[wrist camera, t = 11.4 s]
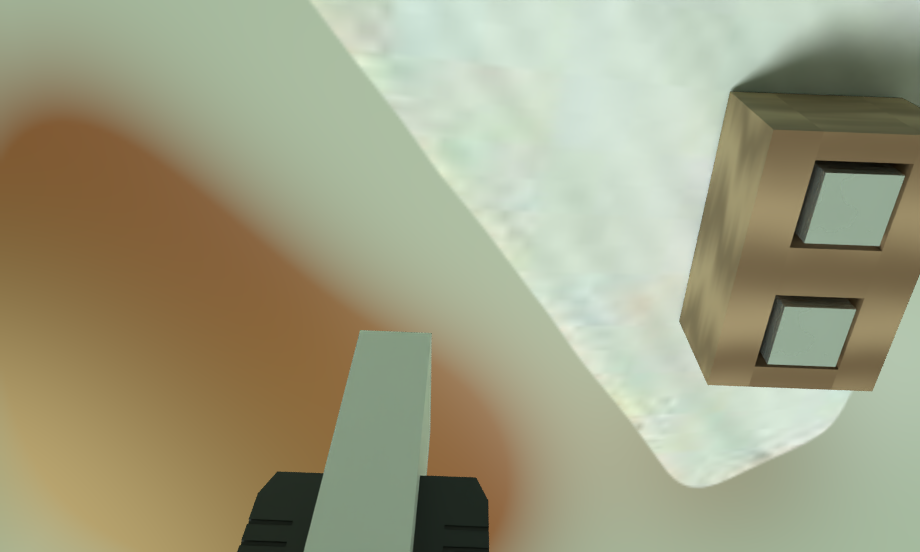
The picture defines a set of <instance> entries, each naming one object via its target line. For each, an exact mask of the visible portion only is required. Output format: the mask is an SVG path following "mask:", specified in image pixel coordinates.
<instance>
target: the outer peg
mask: <svg viewBox="0 0 920 552" xmlns="http://www.w3.org/2000/svg"><path fill="white" fill-rule="evenodd" d="M855 312H856V308H855V307H854V306H853V305H852V304H851V303H850V302H849V300H848V299H847V298H839V297H813V296H787V295H776V296H775V299H774V303H773V306H772V309H771V313H770V316H769V320H768V323H767V326H766V330H765V333H764V337H763V340H762V343H761V347H760V350H759V351H760V352H761V354H762V356H763V357H764V359H765V361H766V363H767V364H775V365H801V366H827V367H836V364H837V361H838V358H839V356H840V353H841V350H842V347H843V345H844V342H845V339H846V336H847V334H848V331H849V328H850V325H851V323H852V320H853V317H854V314H855Z"/></svg>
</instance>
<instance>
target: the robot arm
mask: <svg viewBox="0 0 920 552" xmlns="http://www.w3.org/2000/svg"><path fill="white" fill-rule="evenodd" d="M431 337H432V333H417V332H416V333H415V332H391V331H389V332H388V331H365V330H360V333H359V337H358V341H357V345H356V349H355V353H354V357H353V360H352V365H351V369H350V372H349V377H348V380H347V384H346V388H345V392H344V396H343V400H342V404H341V408H340V411H339V415H338V419H337V423H336V427H335V431H334V435H333V439H332V443H331V447H330V451H329V454H328V458H327V463H326V466H325V470H324V473H301V472H277V473H276V474H275V475H274V476H273V477H272V478H271V479H270V480H269V482H268V483H267V484H266V485H265V486H264V487H263V488H262V489H261V491H260V492H259V493H258V495H257V497H256V500H255V503H254V506H253V509H252V512H251V514H250V517H249V523H248V524H247V526H246V529H245V532H244V535H243V537H242V542H241V545H240V546H239V548H238V551H237V552H489V532H488V528H489V526H488V525H489V523H488V499H487V498H486V496H485V494H484V492H483V490H482V488H481V486H480V484H479V482H478V480H477V478H473V477H446V476H426V475H427V463H428V452H429V440H430V409H431Z"/></svg>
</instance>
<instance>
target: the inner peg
mask: <svg viewBox="0 0 920 552" xmlns="http://www.w3.org/2000/svg"><path fill="white" fill-rule="evenodd" d="M904 177H905V175H903V174H902V173H901V172H899V171H898V170H896V169H895V168H894V167H892V166H891V165H889V164H888V163H877V162H850V161H824V160H815V164H814V167H813V170H812V174H811V177H810V181H809V184H808V187H807V191H806V194H805V197H804V201H803V204H802V208H801V211H800V214H799V218H798V221H797V225H796V228H795V231H794V232H795V233H796V234H797V235H798V237H799V238H800V239H801V240H802V241H803V242H804V243H812V244H838V245H864V246H880V243H881V240H882V238H883V235H884V232H885V229H886V227H887V224H888V221H889V218H890V216H891V213H892V210H893V208H894V205H895V202H896V199H897V197H898V194H899V191H900V188H901V186H902V183H903V180H904Z"/></svg>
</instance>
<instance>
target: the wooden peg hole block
mask: <svg viewBox="0 0 920 552" xmlns="http://www.w3.org/2000/svg"><path fill="white" fill-rule="evenodd" d="M815 160H824V161H850V162H877V163H888V164H889V165H891V166H892V167H894V168H895V169H896V170H898V171H899V172H901V173H902V174H903V175H905V177H904V180H903V183H902V186H901V188H900V191H899V194H898V197H897V199H896V202H895V205H894V208H893V210H892V213H891V216H890V218H889V221H888V224H887V227H886V229H885V232H884V235H883V238H882V240H881V243H880V246H864V245H838V244H812V243H804V242H803V241H802V240H801V239H800V238H799V237H798V235H797V234H796V233H795V232H794V231H795V228H796V225H797V221H798V218H799V214H800V211H801V208H802V204H803V201H804V197H805V194H806V191H807V187H808V184H809V181H810V177H811V174H812V170H813V167H814V164H815ZM919 275H920V107H918V106H916V105H914V104H912V103H911V102H909V101H907V100H905V99H903V98H889V97H863V96H836V95H809V94H783V93H756V92H730V94H729V99H728V103H727V108H726V112H725V117H724V121H723V126H722V130H721V135H720V139H719V144H718V149H717V153H716V158H715V162H714V167H713V171H712V176H711V180H710V185H709V189H708V194H707V198H706V203H705V207H704V212H703V216H702V221H701V225H700V230H699V235H698V239H697V244H696V248H695V253H694V257H693V262H692V266H691V271H690V275H689V280H688V284H687V289H686V293H685V298H684V302H683V307H682V312H681V316H680V321H679V322H680V324H681V326H682V329H683V331H684V333H685V335H686V337H687V340H688V342H689V344H690V346H691V349H692V351H693V353H694V355H695V358H696V360H697V362H698V364H699V367H700V369H701V371H702V373H703V376H704V378H705V380H706V382H707V384H708V385H725V386H751V387H776V388H802V389H828V390H854V391H872V390H873V388H874V386H875V383H876V381H877V378H878V376H879V373H880V371H881V368H882V366H883V364H884V361H885V359H886V356H887V354H888V351H889V349H890V346H891V343H892V341H893V339H894V336H895V334H896V331H897V329H898V327H899V324H900V322H901V319H902V317H903V314H904V312H905V309H906V307H907V304H908V302H909V299H910V297H911V294H912V292H913V289H914V287H915V285H916V282H917V280H918V277H919ZM776 295H787V296H813V297H839V298H847V299H848V300H849V302H850V303H851V304H852V305H853V306H854V307H855V308H856V312H855V314H854V317H853V320H852V323H851V325H850V328H849V331H848V334H847V336H846V339H845V342H844V345H843V347H842V350H841V353H840V356H839V358H838V361H837V364H836V367H827V366H801V365H775V364H767V363H766V361H765V359H764V357H763V356H762V354H761V352H760V351H759V350H760V347H761V343H762V340H763V337H764V333H765V330H766V326H767V323H768V320H769V316H770V313H771V309H772V306H773V303H774V299H775V296H776Z"/></svg>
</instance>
